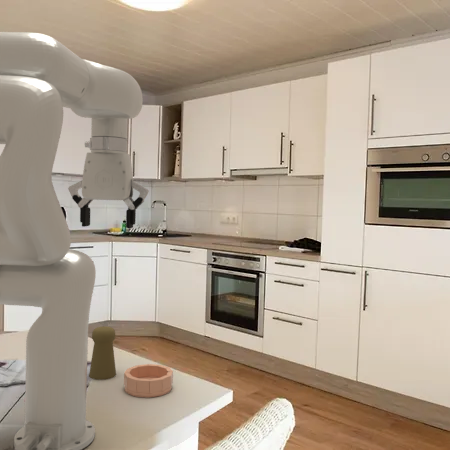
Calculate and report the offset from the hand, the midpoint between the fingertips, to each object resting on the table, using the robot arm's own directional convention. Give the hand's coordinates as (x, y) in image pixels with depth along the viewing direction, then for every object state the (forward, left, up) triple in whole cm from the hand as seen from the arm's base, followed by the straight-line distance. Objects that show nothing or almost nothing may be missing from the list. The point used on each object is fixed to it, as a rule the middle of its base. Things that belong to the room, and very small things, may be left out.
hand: (107, 227), depth 103 cm
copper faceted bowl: (-2, -10, -34) cm, 36 cm away
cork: (+4, +2, -34) cm, 35 cm away
